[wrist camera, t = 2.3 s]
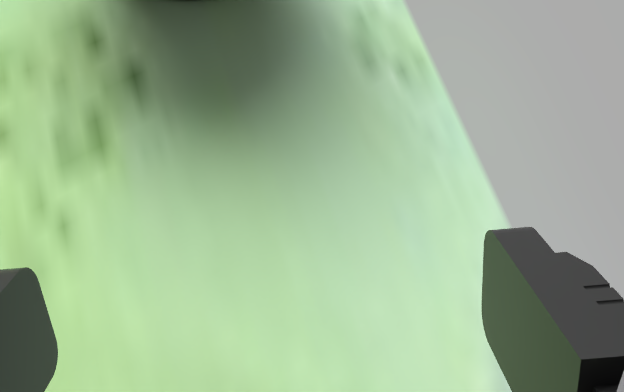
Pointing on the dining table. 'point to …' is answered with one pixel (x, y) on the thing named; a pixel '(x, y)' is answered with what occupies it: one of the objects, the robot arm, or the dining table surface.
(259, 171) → the dining table surface
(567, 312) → the robot arm
